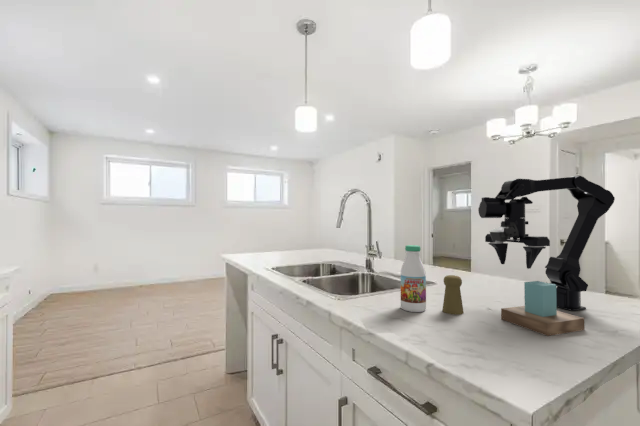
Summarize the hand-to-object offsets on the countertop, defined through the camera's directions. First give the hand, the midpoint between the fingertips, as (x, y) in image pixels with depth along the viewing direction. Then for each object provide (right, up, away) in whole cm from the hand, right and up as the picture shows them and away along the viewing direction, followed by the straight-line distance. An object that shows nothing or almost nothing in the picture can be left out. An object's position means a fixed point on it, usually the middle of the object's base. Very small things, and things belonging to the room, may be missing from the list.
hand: (515, 266), depth 99 cm
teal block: (-4, -10, -16) cm, 20 cm away
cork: (-23, -13, -5) cm, 27 cm away
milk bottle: (-34, -13, -3) cm, 36 cm away
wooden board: (-4, -13, -17) cm, 21 cm away
